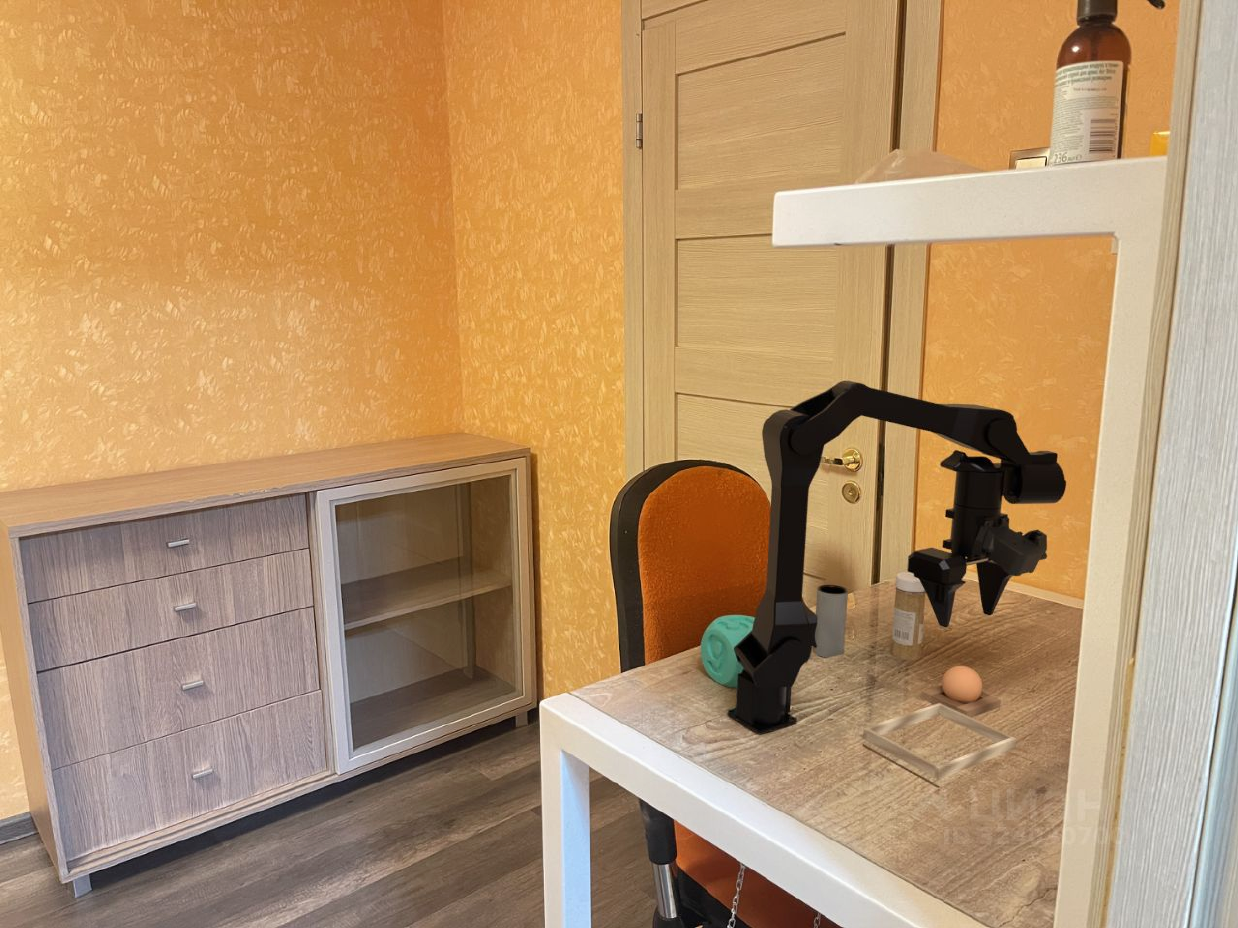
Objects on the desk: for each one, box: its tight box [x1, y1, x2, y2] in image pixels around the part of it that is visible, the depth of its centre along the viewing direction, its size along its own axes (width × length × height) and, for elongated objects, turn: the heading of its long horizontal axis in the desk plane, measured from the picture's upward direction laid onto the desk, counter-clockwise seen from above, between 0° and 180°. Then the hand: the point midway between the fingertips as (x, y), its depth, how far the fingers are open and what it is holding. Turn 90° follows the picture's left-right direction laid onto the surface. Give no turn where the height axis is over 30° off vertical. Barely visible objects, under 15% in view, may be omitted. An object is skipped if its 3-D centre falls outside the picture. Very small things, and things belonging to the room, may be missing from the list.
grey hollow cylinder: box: [813, 584, 849, 659], centre depth 136 cm, size 4×4×10 cm
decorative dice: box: [700, 614, 755, 689], centre depth 127 cm, size 8×8×8 cm
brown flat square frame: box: [921, 684, 1002, 718], centre depth 118 cm, size 7×7×2 cm
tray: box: [862, 703, 1018, 789], centre depth 107 cm, size 14×11×2 cm
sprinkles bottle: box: [891, 571, 926, 661], centre depth 133 cm, size 5×5×13 cm
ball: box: [941, 665, 983, 705], centre depth 118 cm, size 5×5×5 cm
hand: (966, 620), depth 116 cm, fingers open, 9 cm apart
